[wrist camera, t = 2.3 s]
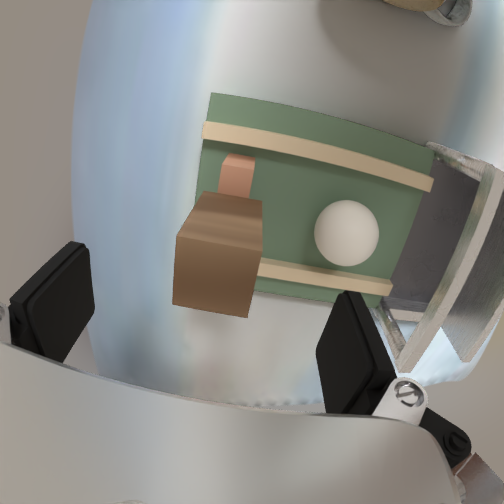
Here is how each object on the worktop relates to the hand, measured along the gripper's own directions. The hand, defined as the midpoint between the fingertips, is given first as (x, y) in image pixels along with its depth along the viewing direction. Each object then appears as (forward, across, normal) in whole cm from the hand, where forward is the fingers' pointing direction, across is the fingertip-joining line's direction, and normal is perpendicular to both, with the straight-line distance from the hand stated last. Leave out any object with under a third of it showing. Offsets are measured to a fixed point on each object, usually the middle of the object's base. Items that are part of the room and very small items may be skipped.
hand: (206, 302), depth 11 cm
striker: (+10, 0, -1) cm, 10 cm away
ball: (+8, -7, -1) cm, 11 cm away
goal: (+11, -16, -1) cm, 20 cm away
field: (+12, -5, -1) cm, 13 cm away
